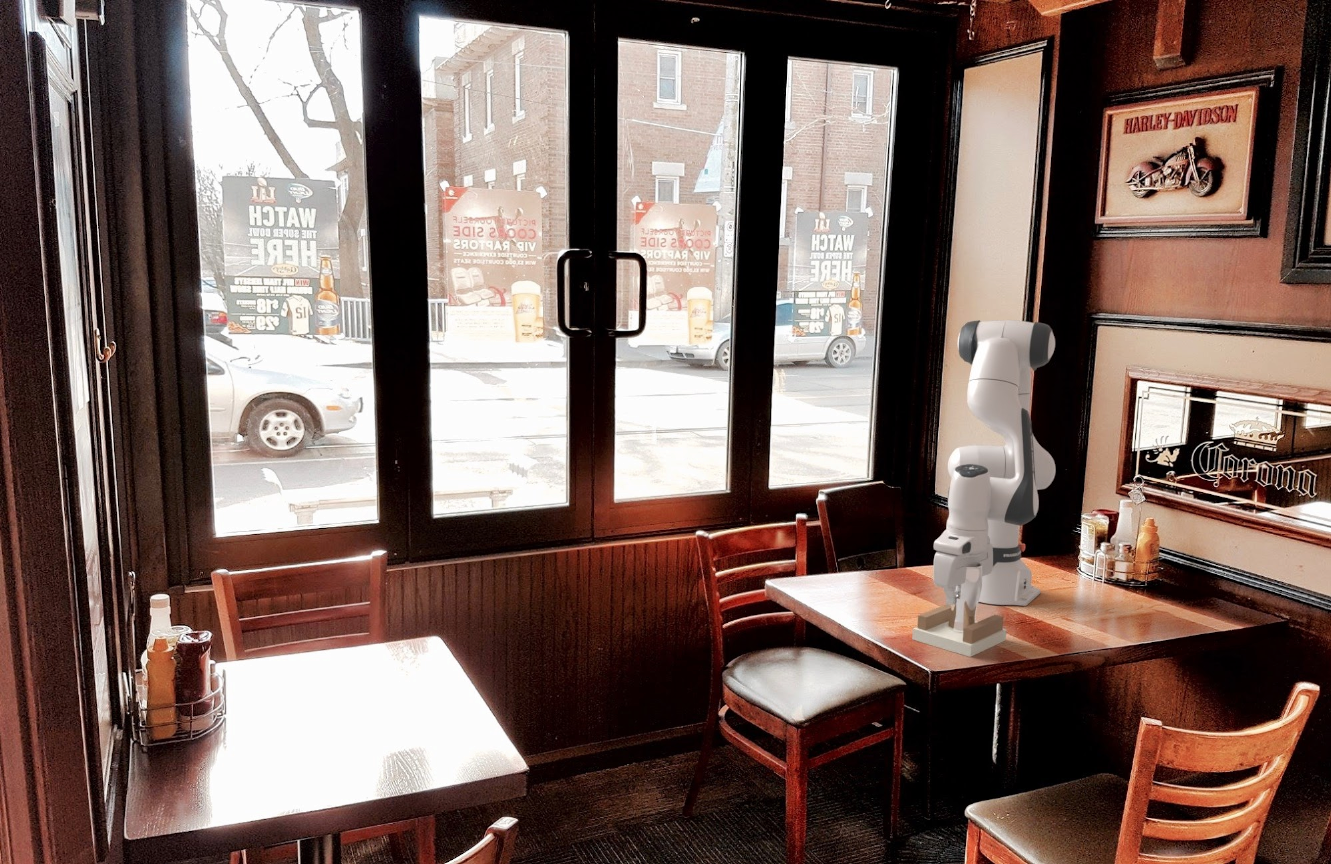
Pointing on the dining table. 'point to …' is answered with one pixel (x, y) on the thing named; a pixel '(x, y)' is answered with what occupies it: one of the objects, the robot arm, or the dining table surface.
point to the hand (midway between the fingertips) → (962, 600)
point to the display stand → (966, 643)
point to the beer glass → (966, 600)
